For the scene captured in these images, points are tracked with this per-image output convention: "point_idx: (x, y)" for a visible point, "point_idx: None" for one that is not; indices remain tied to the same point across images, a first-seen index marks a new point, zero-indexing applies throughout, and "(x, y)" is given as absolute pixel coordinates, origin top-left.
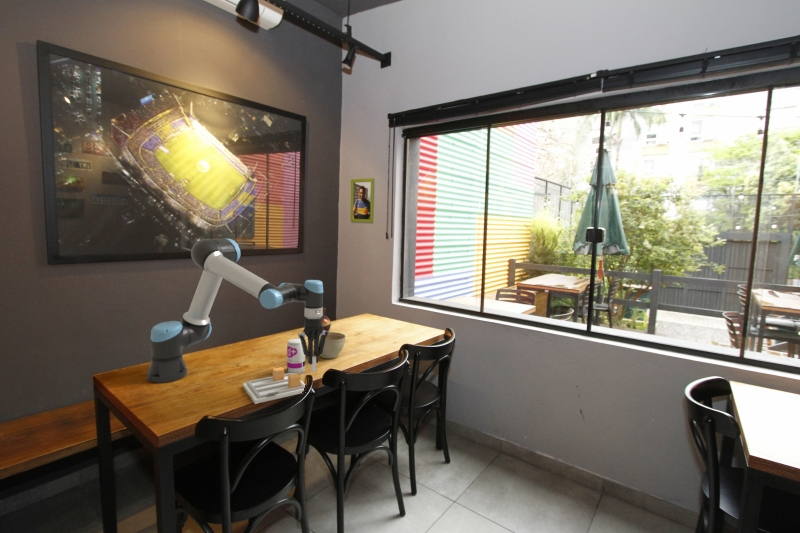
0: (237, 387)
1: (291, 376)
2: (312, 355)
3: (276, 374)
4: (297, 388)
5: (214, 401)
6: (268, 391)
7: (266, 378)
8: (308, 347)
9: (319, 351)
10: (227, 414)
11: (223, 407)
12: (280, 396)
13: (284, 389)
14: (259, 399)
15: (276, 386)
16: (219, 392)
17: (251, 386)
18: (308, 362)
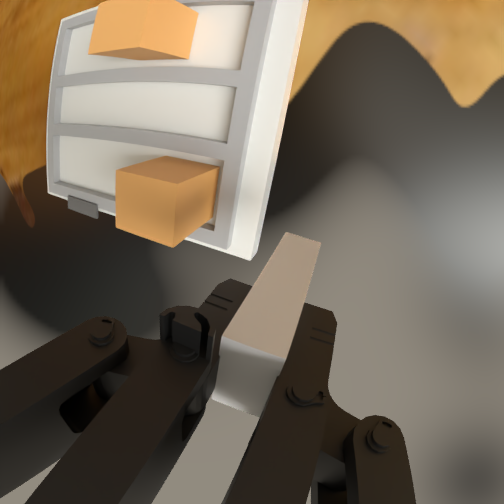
0: None
1: (123, 209)
2: (196, 415)
3: (112, 55)
4: None
5: (11, 102)
6: (86, 150)
7: None
8: (79, 458)
9: (316, 482)
10: (20, 198)
11: (16, 153)
12: None
13: None
14: (57, 196)
15: (110, 140)
16: (29, 45)
17: (52, 81)
18: (217, 290)
